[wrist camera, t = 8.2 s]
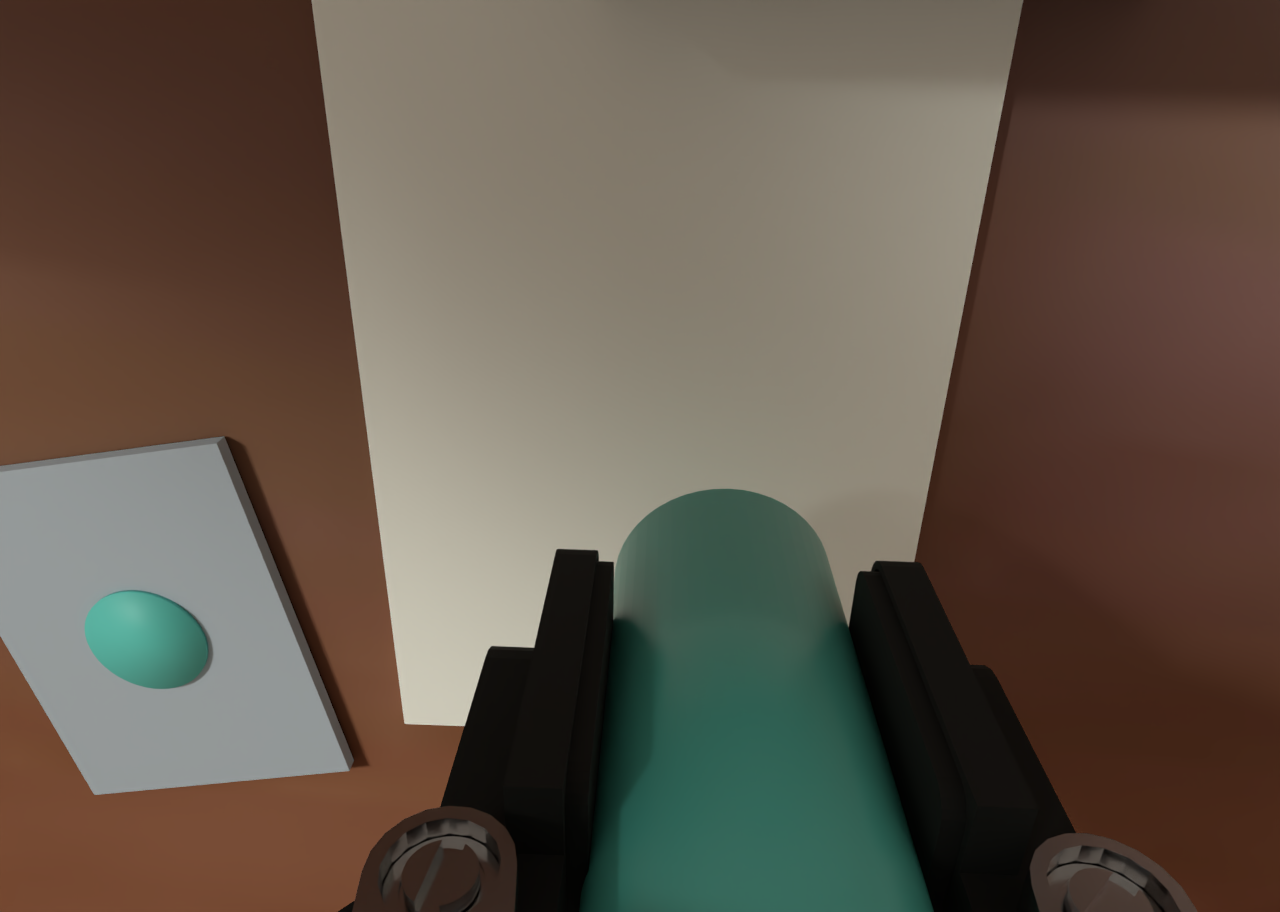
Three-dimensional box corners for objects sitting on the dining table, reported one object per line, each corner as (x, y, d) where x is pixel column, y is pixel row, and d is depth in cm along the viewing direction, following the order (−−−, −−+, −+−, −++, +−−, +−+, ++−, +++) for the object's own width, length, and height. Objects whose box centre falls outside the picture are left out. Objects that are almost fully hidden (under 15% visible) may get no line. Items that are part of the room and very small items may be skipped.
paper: (313, -38, 12) (306, -40, 12) (1019, -21, 12) (1027, -22, 12) (408, 713, 18) (404, 723, 18) (875, 731, 18) (879, 741, 18)
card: (-77, 476, 16) (-94, 486, 16) (224, 436, 16) (213, 445, 15) (102, 784, 20) (91, 798, 19) (353, 760, 19) (347, 774, 19)
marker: (608, 478, 12) (410, 1861, 3) (851, 486, 12) (1431, 1932, 3) (606, 668, 14) (474, 1980, 4) (822, 677, 14) (1143, 2030, 4)
